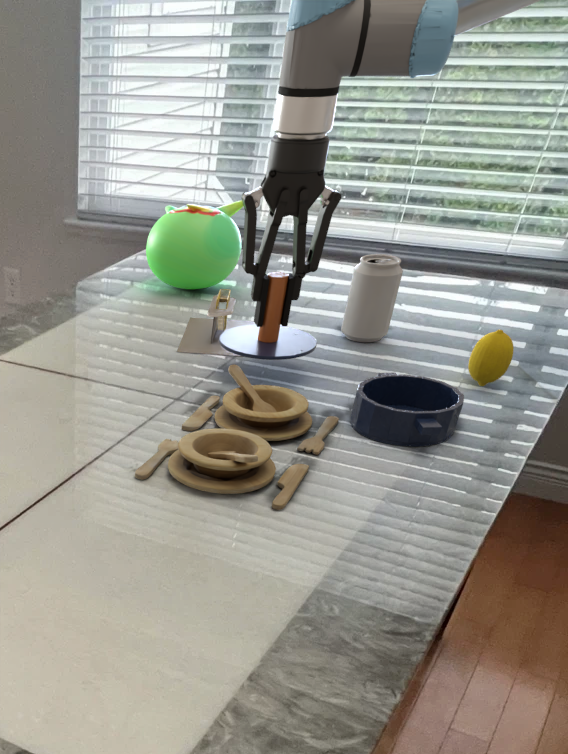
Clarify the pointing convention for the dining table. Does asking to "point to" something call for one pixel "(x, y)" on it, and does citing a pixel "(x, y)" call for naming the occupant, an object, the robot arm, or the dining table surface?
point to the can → (372, 297)
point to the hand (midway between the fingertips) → (270, 323)
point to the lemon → (491, 357)
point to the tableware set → (241, 441)
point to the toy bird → (194, 245)
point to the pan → (406, 409)
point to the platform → (210, 328)
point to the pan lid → (270, 330)
